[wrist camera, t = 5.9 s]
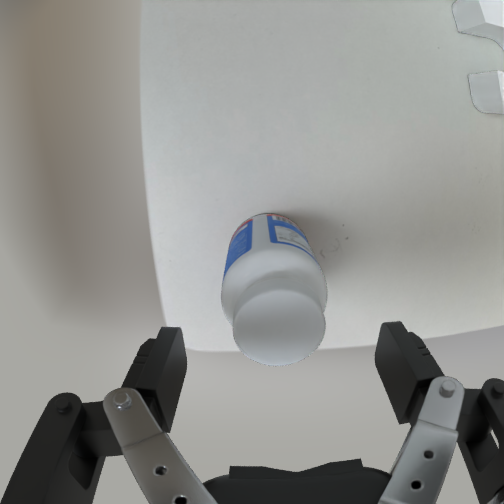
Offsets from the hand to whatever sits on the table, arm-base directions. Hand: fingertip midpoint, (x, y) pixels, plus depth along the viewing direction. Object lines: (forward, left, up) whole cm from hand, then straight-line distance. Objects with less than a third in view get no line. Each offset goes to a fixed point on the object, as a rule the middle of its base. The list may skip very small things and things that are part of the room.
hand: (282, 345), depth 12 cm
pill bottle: (0, 0, -11) cm, 11 cm away
